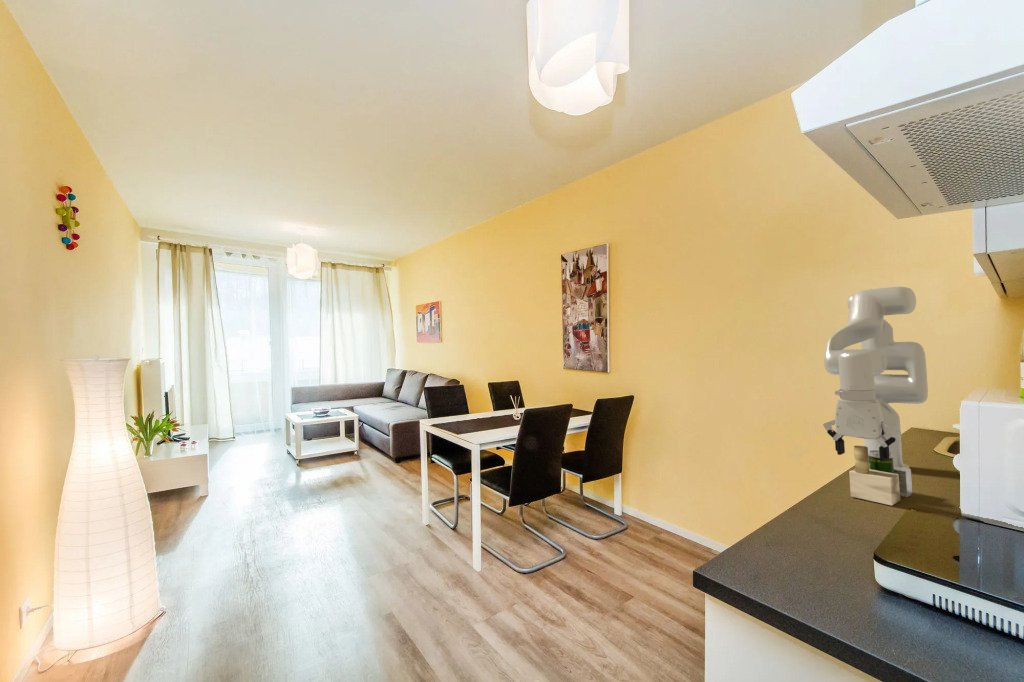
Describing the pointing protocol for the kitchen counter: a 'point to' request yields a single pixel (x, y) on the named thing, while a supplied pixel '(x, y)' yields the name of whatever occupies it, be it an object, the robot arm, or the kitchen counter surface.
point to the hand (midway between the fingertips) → (861, 457)
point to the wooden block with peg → (872, 481)
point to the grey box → (904, 480)
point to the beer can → (877, 464)
